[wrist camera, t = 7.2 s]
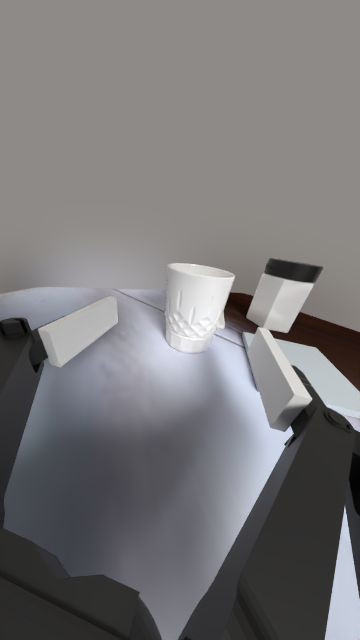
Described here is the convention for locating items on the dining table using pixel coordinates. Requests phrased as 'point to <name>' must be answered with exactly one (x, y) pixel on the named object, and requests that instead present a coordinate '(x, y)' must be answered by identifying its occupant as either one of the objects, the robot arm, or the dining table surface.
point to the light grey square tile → (318, 376)
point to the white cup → (194, 305)
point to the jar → (282, 293)
